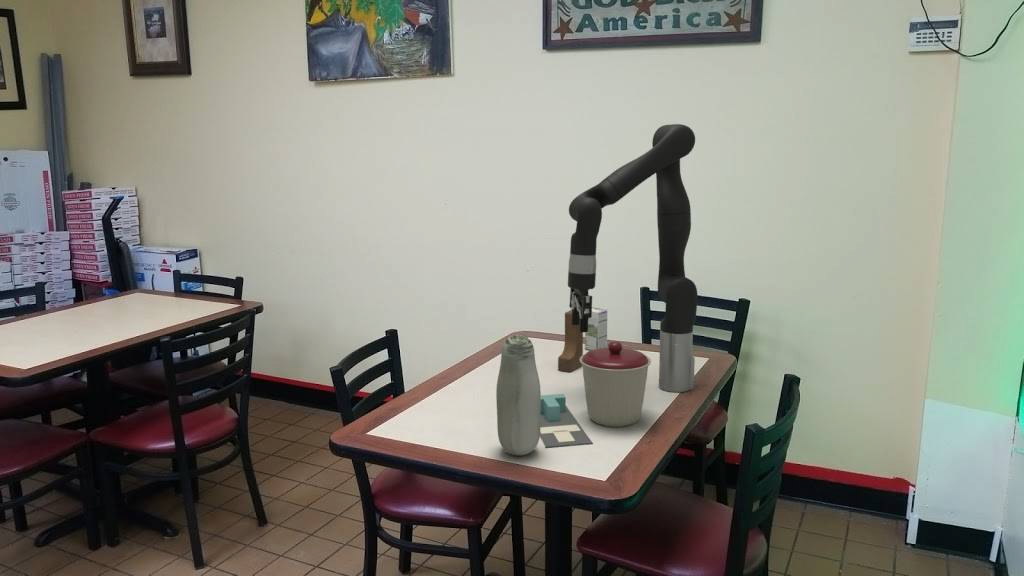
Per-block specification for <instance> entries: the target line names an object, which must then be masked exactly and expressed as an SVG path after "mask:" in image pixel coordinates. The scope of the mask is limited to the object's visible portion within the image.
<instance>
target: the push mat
mask: <svg viewBox="0 0 1024 576" xmlns="http://www.w3.org/2000/svg"><path fill="white" fill-rule="evenodd" d="M539 439H541V441H542V443H543V445H544V448H545V449H555V448H564V447H565V448H567V447H578V446H587V445H589V446H590V445H593V442H592V440H591V438H590V437H589V435H588V434H587V432H585V430H584V428H583V427H582V426H581V424H580V423H579V421H578V420H577V419H576V418H575V416H574V414H573V413H572V411H570V409H569V408H568V406H567V405H566V412H560V421H550V422H549V421H548V420H547V418H546V417H545V415H544V413H543V414H540V438H539Z"/></svg>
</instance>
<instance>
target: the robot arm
mask: <svg viewBox="0 0 1024 576" xmlns="http://www.w3.org/2000/svg"><path fill="white" fill-rule="evenodd" d="M695 144H696V134H695V132H694V131H693V129H692V128H691V127H689V126H687V125H684V124H680V123H675V124H674V123H672V124H663V125H662V126H659V127H658V128H657V129H656V130H655V132H654V134H653V136H652V145H651V146H652V148H650V149H649V150H648V151H646V152H645V153H643V154H642V155H640V156H639V157H637V158H634V159H633V160H631V161H629V162H627V163H626V164H623V165H622V166H620V167H618V168H617V169H616V170H614V171H613V172H611V173H610V174H609V175H607V176H606V177H605V178H604V179H602V180H601V181H599V183H598V184H596V185H594V186H592V187H590V188H588V189H587V190H584V191H583V192H581V193H580V194H579V195H577V196H576V197H575V198H573V199H572V201H570V204H569V206H568V214H569V217H570V218H571V219H572V220H574V221H575V222H576V227H575V232H574V233H572V234H571V237H570V250H569V257H568V272H567V273H568V274H567V286H568V288H570V292H569V293H570V295H569V308H570V310H571V311H573V312H572V320H571V324H572V325H579V324H580V326H579V331H580V332H583V333H585V332H587V331H588V319H589V318H591V317H592V307H593V296H592V295H589V290H593V289H595V288H596V281H597V279H596V276H597V241H598V240H597V238H598V235H599V232H600V228H601V223H602V218H603V208H605V207H607V206H611V205H612V206H613V205H614V204H616V203H617V202H618V201H620V200H622V199H623V198H624V197H626V195H628V194H629V193H631V192H632V191H633V190H634V189H635V188H636V187H638V186H639V185H641V184H643V182H645V181H646V180H647V179H649V178H650V177H652V176H654V175H655V177H656V203H657V204H656V206H657V207H656V208H657V209H656V216H657V217H656V219H657V220H656V221H657V234H658V235H657V236H658V237H657V238H658V240H657V241H658V254H659V259H658V260H659V263H658V276H657V294H658V297H659V298H660V300H661V301H662V302H664V304H665V310H664V311H665V314H664V318H662V319H661V321H660V324H659V325H660V326H659V360H658V361H659V363H658V364H659V367H658V368H659V369H658V370H659V371H658V388H660V389H661V390H662V391H665V392H672V393H681V392H682V393H683V392H688V391H690V390H695V389H694V388H695V362H696V360H695V359H696V358H695V357H694V356H693V341H694V340H693V337H694V336H693V335H694V334H693V333H694V332H693V331H694V325H695V322H696V321H697V320H696V319H697V312H698V311H697V309H698V308H697V307H698V288H697V285H696V284H695V281H693V280H691V279H690V278H688V277H686V273H685V252H686V248H687V244H688V242H689V239H690V235H691V229H692V227H691V226H692V220H691V219H692V215H691V213H692V209H691V203H690V199H689V196H688V193H687V190H686V188H685V186H684V183H683V180H682V174H681V173H682V172H681V159H682V158H684V157H686V156H687V155H689V154H690V153H692V151H693V150H694V147H695ZM585 312H586V313H585Z"/></svg>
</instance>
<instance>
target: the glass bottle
mask: <svg viewBox="0 0 1024 576" xmlns="http://www.w3.org/2000/svg"><path fill="white" fill-rule="evenodd" d="M535 356H536V355H535V348H534V344H533V342H532V341H531V339H529V338H528V337H527V336H524V335H521V334H514V335H512V336H509V337H507V338H506V340H504V342H503V343H502V347H501V356H500V366H499V371H498V374H497V375H498V376H497V382H496V391H495V392H496V393H495V394H496V401H495V402H496V418H497V419H496V420H497V423H496V424H497V426H496V427H497V437H498V441H499V443H500V445H501V447H502V449H503V450H504V451H506V453H508V454H509V455H513V456H519V457H520V456H526V455H528V454H530V453H532V452H533V451H534V450H535V449H536V448H537V446H538V444H539V442H540V439H541V438H540V410H541V395H542V394H541V383H540V376H539V373H538V369H537V364H536V357H535Z"/></svg>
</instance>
